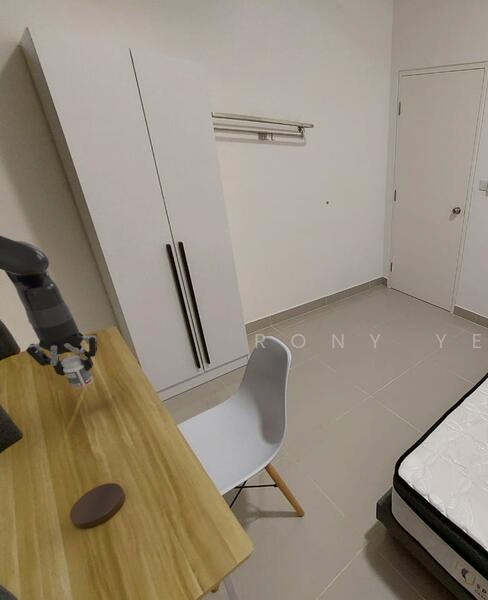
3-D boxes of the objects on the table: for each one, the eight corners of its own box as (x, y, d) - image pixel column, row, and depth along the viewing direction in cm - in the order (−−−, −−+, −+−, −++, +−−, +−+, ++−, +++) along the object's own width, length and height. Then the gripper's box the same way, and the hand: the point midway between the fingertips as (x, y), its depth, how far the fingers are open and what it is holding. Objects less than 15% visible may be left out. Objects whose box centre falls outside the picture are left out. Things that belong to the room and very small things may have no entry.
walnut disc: (67, 536, 69) (64, 531, 68) (79, 498, 76) (76, 493, 75) (121, 516, 73) (118, 511, 72) (127, 482, 80) (125, 476, 79)
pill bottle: (90, 375, 96) (79, 352, 92) (95, 382, 94) (85, 359, 90) (68, 383, 93) (57, 360, 89) (74, 391, 90) (62, 367, 87)
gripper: (91, 307, 90) (111, 357, 97) (18, 317, 83) (46, 370, 91) (84, 320, 84) (106, 372, 92) (5, 332, 77) (36, 387, 85)
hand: (76, 371), depth 91 cm, fingers closed on pill bottle, 4 cm apart
